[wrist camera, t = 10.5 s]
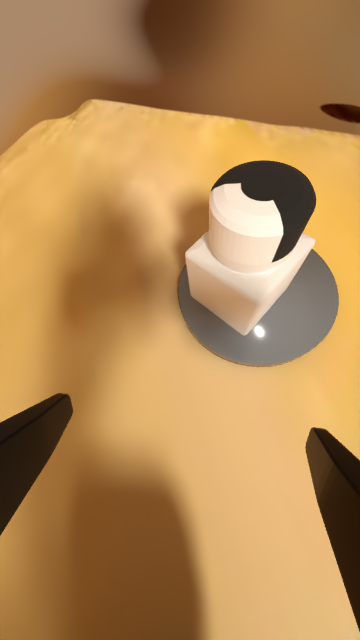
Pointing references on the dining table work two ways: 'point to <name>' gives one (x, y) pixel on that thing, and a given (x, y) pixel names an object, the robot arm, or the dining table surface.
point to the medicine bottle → (251, 241)
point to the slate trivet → (270, 320)
